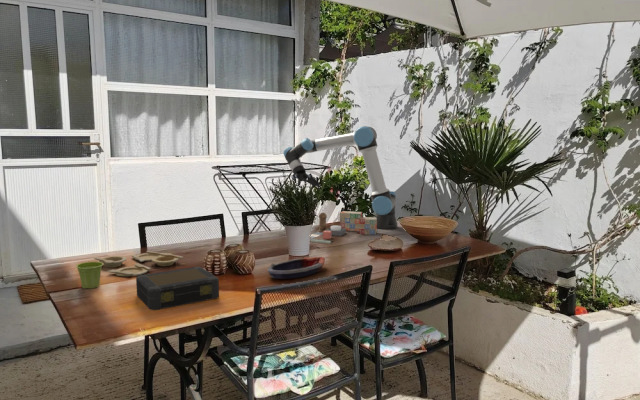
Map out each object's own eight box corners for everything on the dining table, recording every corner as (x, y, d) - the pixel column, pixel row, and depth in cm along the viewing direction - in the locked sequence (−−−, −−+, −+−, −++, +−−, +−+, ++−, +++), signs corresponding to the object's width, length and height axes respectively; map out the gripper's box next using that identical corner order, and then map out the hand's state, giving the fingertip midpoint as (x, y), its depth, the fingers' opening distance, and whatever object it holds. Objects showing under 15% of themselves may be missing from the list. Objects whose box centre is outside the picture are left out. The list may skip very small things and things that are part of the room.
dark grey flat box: (200, 284, 197) (199, 265, 196) (220, 298, 180) (220, 278, 179) (135, 295, 183) (134, 275, 182) (151, 312, 166) (150, 290, 165)
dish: (258, 276, 208) (258, 264, 208) (313, 263, 229) (313, 253, 228) (280, 284, 197) (280, 272, 196) (336, 270, 217) (337, 259, 216)
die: (331, 237, 276) (331, 230, 276) (330, 239, 272) (330, 231, 272) (324, 237, 277) (324, 229, 276) (322, 239, 273) (323, 231, 272)
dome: (342, 231, 287) (342, 225, 286) (338, 233, 281) (338, 227, 281) (332, 231, 289) (332, 225, 289) (329, 232, 284) (329, 226, 283)
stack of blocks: (376, 233, 297) (377, 212, 295) (374, 235, 291) (375, 214, 289) (342, 230, 303) (342, 210, 301) (339, 232, 297) (339, 212, 295)
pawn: (328, 231, 293) (328, 212, 291) (324, 232, 288) (325, 213, 287) (320, 230, 295) (320, 211, 293) (316, 231, 290) (317, 212, 289)
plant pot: (96, 281, 198) (95, 260, 197) (108, 286, 192) (107, 264, 191) (73, 286, 191) (71, 265, 190) (84, 292, 185) (83, 269, 184)
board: (346, 235, 289) (346, 228, 289) (331, 243, 267) (331, 236, 267) (319, 232, 296) (319, 225, 295) (302, 240, 274) (303, 233, 273)
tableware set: (122, 281, 200) (122, 271, 200) (85, 268, 218) (84, 259, 217) (192, 263, 228) (192, 254, 227) (154, 253, 246) (154, 245, 245)
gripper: (310, 171, 317) (325, 198, 307) (279, 173, 302) (293, 201, 292) (315, 164, 312) (330, 191, 302) (284, 165, 297) (298, 193, 287)
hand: (312, 196), depth 297 cm, fingers open, 11 cm apart
